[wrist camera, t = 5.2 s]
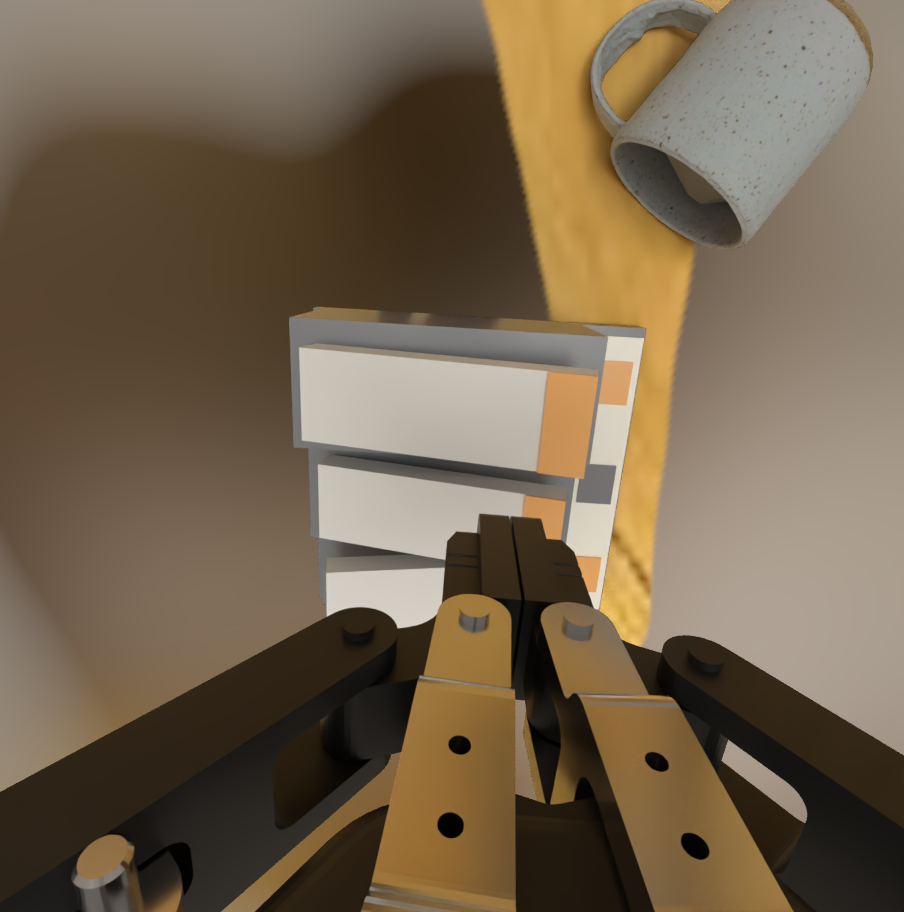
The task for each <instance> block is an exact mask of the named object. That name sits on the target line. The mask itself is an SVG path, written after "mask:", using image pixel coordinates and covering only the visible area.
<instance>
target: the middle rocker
mask: <svg viewBox="0 0 904 912" xmlns="http://www.w3.org/2000/svg"><path fill="white" fill-rule="evenodd" d="M567 489H568V488H566V487H559V486H552V485H545V484H538V483H531V482H523V481H516V480H509V479H502V478H495V477H488V476H481V475H474V474H466V473H459V472H452V471H445V470H438V469H431V468H424V467H417V466H409V465H402V464H395V463H388V462H381V461H374V460H367V459H360V458H352V457H345V456H338V455H331V456H330V457H328V458H327V459H325V460H324V461H322V462H321V463H319V464H318V496H319V538H324V539H329V540H335V541H341V542H346V543H352V544H358V545H364V546H369V547H375V548H381V549H386V550H392V551H398V552H403V553H409V554H415V555H421V556H426V557H432V558H438V559H443V560H445V559H446V547H447V541H448V540H449V539H450V538H451V536H452V535H453V534H454V533H455V532H456V531H459V532H471V533H477V525H478V517H479V513H481V514H493V515H504V516H509V519H510V517H511V516H517V517H529V518H541V520H542V524H543V527H544V531H545V535H546V538H547V539H555V540H561V534H562V527H563V519H564V512H565V505H566V497H567Z"/></svg>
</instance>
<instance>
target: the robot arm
mask: <svg viewBox="0 0 904 912" xmlns="http://www.w3.org/2000/svg"><path fill="white" fill-rule="evenodd" d="M578 565H579V564H578V561H577V558H576V556H575V553H574V551H573V550H572V549H571V548H570V547H569V546H567V545H566V544H565V543H564V542H563V541H562V540H555V539H547V538H546V535H545V531H544V527H543V524H542V520H541V518H529V517H517V516H511V517H510V519H509V516H504V515H493V514H481V513H479V517H478V525H477V533H471V532H459V531H456V532H455V533H454V534H453V535H452V536H451V538H450V539H449V540H448V541H447V547H446V559H445V571H444V583H443V595H442V604H441V605H440V606H439V609H438V612H437V614H436V615H435V616H434V617H433V618H432V619H430V620H428V621H427V622H424V623H422V624H419V625H416V626H411V627H404V628H397V624H396V623H395V621H394V620H393V619H392V618H391V617H390V616H389V615H388V614H386V613H384V612H382V611H380V610H377V609H373V608H366V607H354V608H347V609H343V610H340V611H337V612H335V613H333V614H331V615H329V616H327V617H326V618H324V619H322V620H320V621H318V622H316V623H314V624H312V625H311V626H309V627H307V628H305V629H303V630H301V631H299V632H298V633H296V634H294V635H292V636H290V637H288V638H286V639H285V640H283V641H281V642H279V643H277V644H275V645H273V646H272V647H270V648H268V649H266V650H264V651H262V652H260V653H258V654H257V655H255V656H253V657H251V658H249V659H247V660H246V661H243V662H242V663H240V664H238V665H236V666H234V667H232V668H231V669H229V670H227V671H225V672H223V673H221V674H219V675H217V676H216V677H214V678H212V679H210V680H208V681H206V682H204V683H202V684H201V685H199V686H197V687H195V688H193V689H191V690H189V691H188V692H186V693H184V694H182V695H180V696H178V697H176V698H175V699H173V700H171V701H169V702H167V703H165V704H163V705H161V706H160V707H158V708H156V709H154V710H152V711H150V712H148V713H147V714H145V715H143V716H141V717H139V718H137V719H136V720H134V721H132V722H130V723H128V724H126V725H124V726H122V727H121V728H119V729H117V730H115V731H113V732H111V733H110V734H108V735H106V736H104V737H102V738H100V739H98V740H96V741H95V742H92V743H91V744H89V745H87V746H85V747H84V748H81V749H80V750H78V751H76V752H74V753H72V754H70V755H68V756H66V757H65V758H63V759H61V760H59V761H57V762H55V763H53V764H51V765H50V766H48V767H46V768H44V769H42V770H40V771H38V772H37V773H35V774H33V775H31V776H29V777H27V778H26V779H24V780H22V781H20V782H18V783H16V784H14V785H13V786H10V787H9V788H7V789H5V790H3V791H1V792H0V912H221V911H222V910H223V909H224V908H226V907H227V906H228V905H229V904H230V903H231V902H232V901H234V900H235V899H236V898H237V897H238V896H239V895H240V894H242V893H243V892H244V891H245V890H246V889H247V888H248V887H250V886H251V885H252V884H253V883H254V882H255V881H256V880H258V879H259V878H260V877H261V876H262V875H263V874H264V873H266V872H267V871H268V870H269V869H270V868H271V867H273V866H274V865H275V864H276V863H277V862H278V861H279V860H281V859H282V858H283V857H284V856H285V855H286V854H287V853H289V852H290V851H291V850H292V849H293V848H294V847H295V846H296V845H298V844H299V843H300V842H301V841H302V840H303V839H305V838H306V837H307V836H308V835H309V834H310V833H312V832H313V831H314V830H315V829H316V828H317V827H318V826H320V825H321V824H322V823H323V822H324V821H325V820H326V819H328V818H329V817H330V816H331V815H332V814H333V813H334V812H336V811H337V810H338V809H339V808H340V807H341V806H342V805H344V804H345V803H346V802H347V801H348V800H349V799H350V798H352V796H354V795H355V794H356V793H357V792H358V791H360V790H361V789H362V788H363V787H364V786H365V785H366V784H367V783H369V782H370V781H371V780H372V779H373V778H375V777H376V776H377V775H378V774H379V773H380V772H381V771H382V770H383V769H384V768H385V767H386V765H387V764H388V762H389V760H390V757H391V754H394V753H399V752H401V756H400V761H399V765H398V769H397V774H396V779H395V783H394V787H393V791H392V796H391V800H390V804H389V805H386V806H382V807H380V808H378V809H375V810H373V811H371V812H368V813H366V814H364V815H363V816H361V817H359V818H358V819H356V820H354V821H352V822H351V823H350V824H348V825H347V826H346V827H344V828H343V829H342V830H340V831H339V832H338V833H336V834H335V835H334V836H333V837H332V838H331V839H330V840H328V841H327V842H326V843H325V844H324V845H323V846H322V847H321V848H320V849H319V850H318V851H317V852H316V853H315V854H314V855H313V856H312V857H311V858H310V859H309V860H308V861H307V862H306V863H305V864H304V865H303V866H302V867H300V868H299V870H297V872H295V873H294V874H293V875H292V876H291V877H290V878H289V879H288V880H287V881H286V882H285V883H284V884H283V885H282V886H281V887H280V888H279V889H278V890H277V891H276V892H275V893H274V894H273V895H272V896H271V897H270V898H269V899H268V900H267V901H266V902H264V903H263V904H262V905H261V906H260V907H259V908H258V909H257V910H256V911H255V912H904V756H903V755H902V754H900V753H899V752H897V751H895V750H894V749H892V748H890V747H889V746H887V745H885V744H883V743H882V742H880V741H879V740H877V739H875V738H874V737H872V736H870V735H869V734H867V733H865V732H864V731H862V730H861V729H859V728H857V727H856V726H854V725H852V724H851V723H849V722H847V721H846V720H844V719H842V718H840V717H839V716H837V715H836V714H834V713H832V712H830V711H829V710H827V709H826V708H824V707H822V706H821V705H819V704H817V703H816V702H814V701H813V700H811V699H809V698H808V697H806V696H804V695H803V694H801V693H799V692H798V691H796V690H794V689H793V688H791V687H789V686H788V685H786V684H784V683H783V682H781V681H779V680H778V679H776V678H774V677H773V676H771V675H769V674H768V673H766V672H764V671H763V670H761V669H760V668H758V667H756V666H754V665H753V664H751V663H750V662H748V661H746V660H744V659H743V658H741V657H740V656H738V655H736V654H734V653H733V652H731V651H730V650H728V649H726V648H725V647H723V646H721V645H719V644H717V643H715V642H713V641H710V640H707V639H704V638H700V637H695V636H685V635H683V636H676V637H672V638H670V639H668V640H667V641H666V642H665V643H664V646H663V649H662V653H659V652H656V651H653V650H649V649H646V648H642V647H639V646H636V645H633V644H630V643H628V642H626V641H623V640H621V638H620V636H619V634H618V632H617V630H616V628H615V626H614V625H613V623H612V622H611V620H610V619H609V618H608V617H607V616H605V615H604V614H603V613H601V612H600V611H598V610H596V609H594V607H593V604H592V601H591V598H590V595H589V593H588V590H587V587H586V584H585V581H584V578H583V577H582V573H581V570H580V567H578ZM515 699H516V700H525V704H526V714H525V721H524V727H523V737H524V742H525V747H526V752H527V756H528V761H529V767H530V772H531V777H532V782H533V787H534V792H535V797H536V800H532V799H529V798H526V797H523V796H520V795H517V794H515ZM728 740H730V741H731V742H732V743H734V744H735V745H737V746H738V747H739V748H741V749H742V750H743V751H745V752H747V753H748V754H749V755H751V756H752V757H753V758H754V759H756V760H757V761H758V762H760V763H761V764H763V765H764V766H765V767H767V768H768V769H769V770H771V771H772V772H774V773H775V774H776V775H778V776H779V777H780V778H782V779H783V780H785V781H786V782H787V783H789V784H790V785H791V786H792V787H793V788H794V789H795V790H796V791H797V792H798V793H799V795H800V796H801V798H802V799H803V801H804V803H805V806H806V809H807V821H806V823H803V822H802V821H800V820H798V819H797V818H795V817H794V816H793V815H791V814H790V813H788V812H787V811H786V810H785V809H783V808H782V807H781V806H779V805H778V804H777V803H776V802H774V801H773V800H772V799H770V798H769V797H768V796H766V795H765V794H764V793H763V792H761V791H760V790H759V789H757V788H756V787H755V786H753V785H752V784H751V783H750V782H748V781H747V780H746V779H744V778H743V777H742V776H740V775H739V774H738V773H736V772H735V771H734V770H733V769H731V768H730V767H729V766H727V765H726V764H724V763H723V762H722V761H721V760H722V757H723V754H724V751H725V748H726V745H727V742H728Z"/></svg>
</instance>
